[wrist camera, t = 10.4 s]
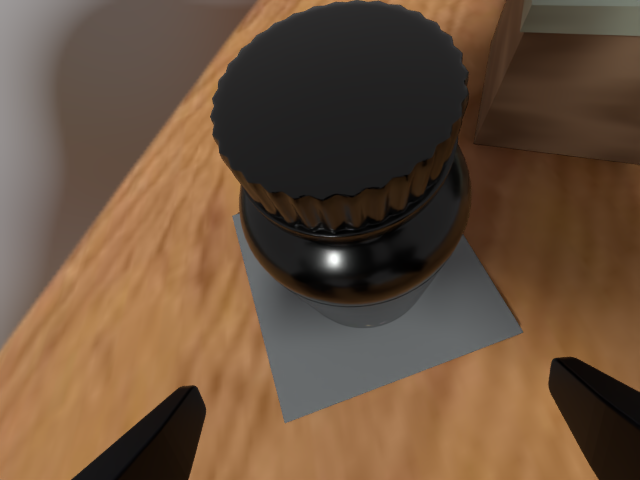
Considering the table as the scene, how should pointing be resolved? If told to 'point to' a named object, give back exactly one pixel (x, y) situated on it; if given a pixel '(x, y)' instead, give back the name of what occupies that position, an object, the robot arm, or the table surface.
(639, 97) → the toolbox
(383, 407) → the table surface
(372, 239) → the supplement bottle
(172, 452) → the robot arm
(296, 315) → the mat
